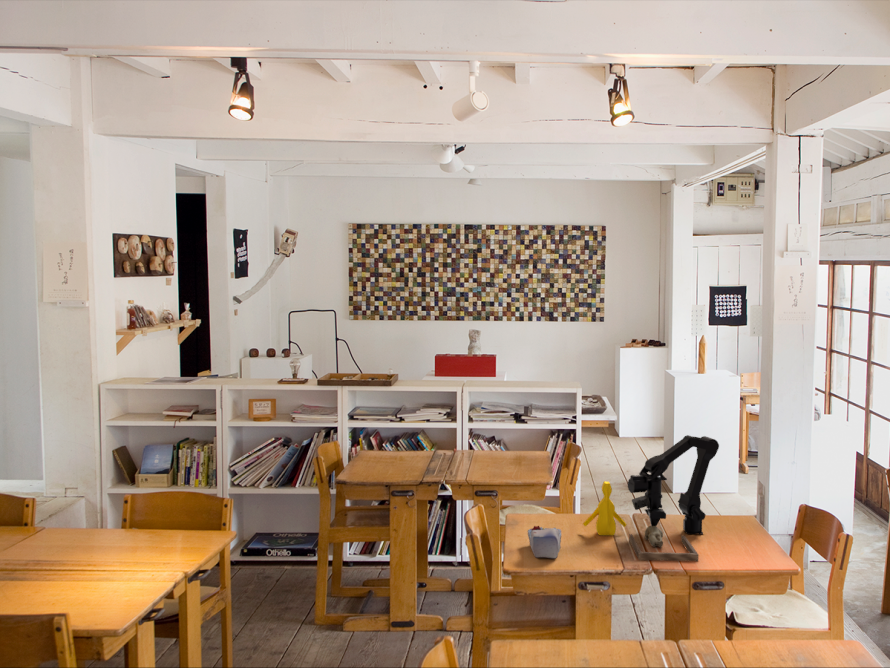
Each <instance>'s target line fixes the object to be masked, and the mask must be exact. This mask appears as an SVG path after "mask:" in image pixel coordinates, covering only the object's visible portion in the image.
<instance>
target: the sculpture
mask: <svg viewBox="0 0 890 668" xmlns="http://www.w3.org/2000/svg"><path fill="white" fill-rule="evenodd" d="M663 537H664V533H663V530H661V529H660V528H659V527H658V526H651V525H650V526H648V527H646V529H645V530H644V540H646V541H649V544H650V546H652V547H658V548H662V547H663V545H664V541H663Z"/></svg>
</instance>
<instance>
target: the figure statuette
mask: <svg viewBox="0 0 890 668" xmlns="http://www.w3.org/2000/svg"><path fill="white" fill-rule="evenodd" d="M601 492H602V494H603V497H602V498H601V499H600V501H599V503H598V504H597V507H596V508H595V510H594V511H593V512H592V513H591V515H590V516H589V517H587V518H586V520H584V522H583V523H582V525H583V526H584V527H588V525H589V524H590V523H591V522H592V521H593V520H594V519H595V518H597V519H596V522H595V530H596V532H597V534H598V535H599V536H614V535H615V534H616V530H617V524H616V521H617V522H618V523H619V524H620V525H622V527H624V528H626V526H627V523H626V522H625V521H624V520H623V518H622V517H621V516H620V515H619V514H618V513H617V512H616V507H615V504H614V502H613V501H612V500H611V494H612V492H613V489H612V484H611V483H610V481H603V483H602V485H601ZM597 516H598V517H597ZM615 520H616V521H615Z"/></svg>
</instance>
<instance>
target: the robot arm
mask: <svg viewBox="0 0 890 668" xmlns="http://www.w3.org/2000/svg"><path fill="white" fill-rule="evenodd" d="M692 448H696V454H697V455H696V456H697V458H696V462H695V466H694V468H693V472H692V475H691V478H690V481H689V484H688V487H687V490H686V491H685V493H683V492H681V493H680V496H679V500H678V501H677V502H678V508H679V510H680V511H681V513H682V515H684V519H683V521H682V522H683V523H682V530H684V532H685V533H686V534H687V535H704V532H703V521H704V520H705V519H706V514H705V512H704V511H703V510H702V509H701V504H702V501H701V496H700V495H701V492H702V489H703V484H704V482H705V478H706V475H707V473H708V472H707V471H708V468H709V465H710V462H711V461H712V459H713V458H715V456H717V455H716V454H717V453H718V451H719V448H720V444H719V442H718V441H717V440H716V439H715V438H712V437H709V436H705V435H704V436H701V437H699V436H691V435H690V434H689V435H688V434H687V435H685V436H684V437H683V438H682V439H681V440H679V441H678V442H676V443H675V444H673V445H672V446H671V447H669V448H668V449H667V450H665V451H664V452H663V453H661V454H659V455H655V456H652V457H650V458H648V459H647V460H646V461H645V462H644V466H643V467H642V468H641V470H640V472H639V473H638V474H637V475H635V474H632V475H631V474H630V478H628V480H627V488H628V491H629V492H630V493H631V494H636V493H637V494H638V493H644V495H642V496H638V497H635V498H633V499H631V503H632V506H633V508H634V510H636V511H638V510H641V509H642V508H645V507H646V509H644V511H645V513H646V515H647V516H648V517H649V522H650V526H656V527H658V526H657V525H658V524H659V522H660V520H661V519H662V520H666V518H667V512H666V511H665V510H664V509H663V505H662V499H663V494H662V482H663V481H667V480H668V479H667V477H665V476H664V473H665V471H666V470H668V468H669V465H670V464H672V462H674V461H676V460H677V459H678V458H680V457H681V456H682V455H683V454H685V453H687V452H688V451H689V450H690V449H692Z"/></svg>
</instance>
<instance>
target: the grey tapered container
mask: <svg viewBox="0 0 890 668" xmlns="http://www.w3.org/2000/svg"><path fill="white" fill-rule="evenodd" d="M527 536H528V539H529V546H530V548H531V550H532V553H533V556H534V557H535V558H548V559H556V558H558V555H559V553H560V550H561V542H562V529H560V528H556V527H553V528H552V527H542V526H540V525H537V526H536V525H534V526H533V528H529V529H527Z"/></svg>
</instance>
